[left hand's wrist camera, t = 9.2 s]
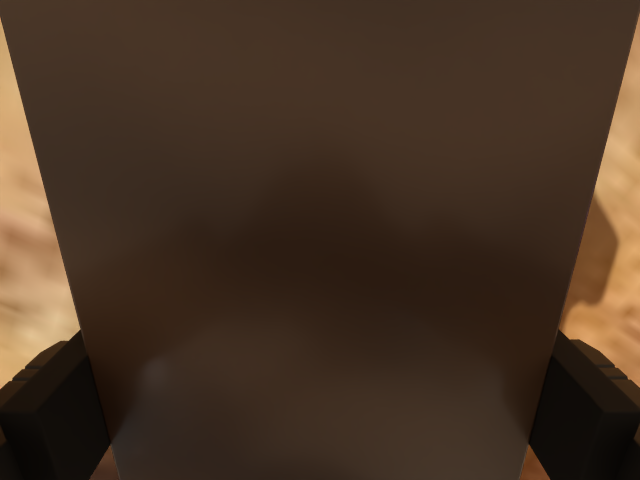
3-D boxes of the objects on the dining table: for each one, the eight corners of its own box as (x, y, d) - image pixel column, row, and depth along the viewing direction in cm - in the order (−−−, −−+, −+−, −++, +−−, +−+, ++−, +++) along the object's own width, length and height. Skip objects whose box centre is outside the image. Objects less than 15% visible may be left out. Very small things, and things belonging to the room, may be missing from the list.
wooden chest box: (151, -133, 12) (-151, -554, 4) (487, -133, 12) (788, -552, 4) (210, 349, 18) (130, 530, 11) (429, 349, 18) (508, 529, 11)
